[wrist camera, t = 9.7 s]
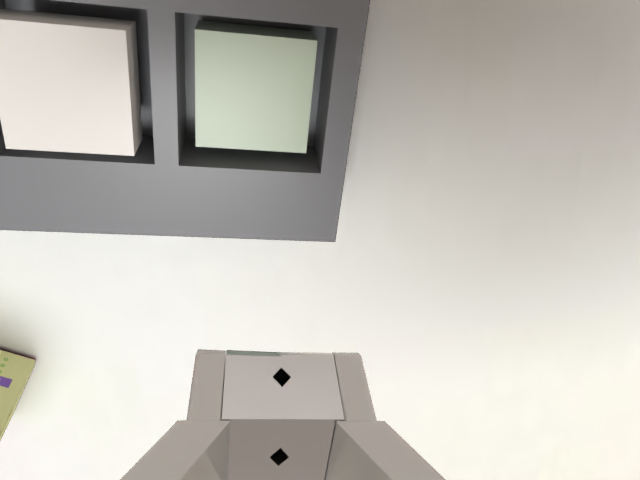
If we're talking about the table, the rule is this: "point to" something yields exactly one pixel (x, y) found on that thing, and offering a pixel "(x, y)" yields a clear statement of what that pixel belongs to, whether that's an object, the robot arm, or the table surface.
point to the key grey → (69, 83)
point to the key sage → (253, 86)
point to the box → (12, 384)
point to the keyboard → (179, 136)
